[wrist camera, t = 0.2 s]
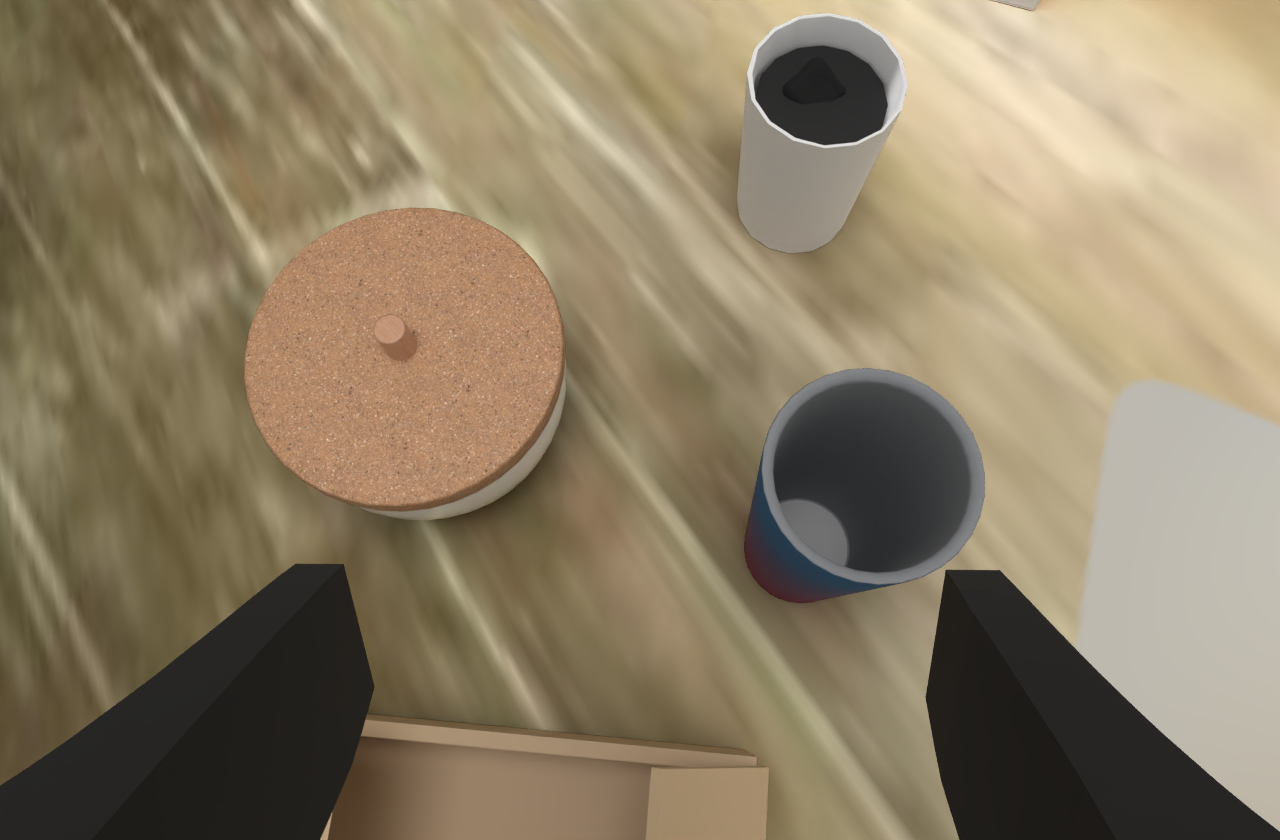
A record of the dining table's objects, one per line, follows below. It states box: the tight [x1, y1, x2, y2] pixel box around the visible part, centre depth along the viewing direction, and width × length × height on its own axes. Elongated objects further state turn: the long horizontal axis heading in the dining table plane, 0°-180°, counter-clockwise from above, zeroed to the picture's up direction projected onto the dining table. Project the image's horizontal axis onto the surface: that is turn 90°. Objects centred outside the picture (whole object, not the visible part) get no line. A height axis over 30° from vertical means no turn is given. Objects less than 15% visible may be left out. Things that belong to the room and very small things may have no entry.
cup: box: [744, 368, 985, 603], centre depth 35 cm, size 7×7×15 cm
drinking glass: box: [737, 13, 908, 254], centre depth 42 cm, size 7×7×10 cm
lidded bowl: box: [244, 208, 567, 520], centre depth 39 cm, size 13×13×11 cm
